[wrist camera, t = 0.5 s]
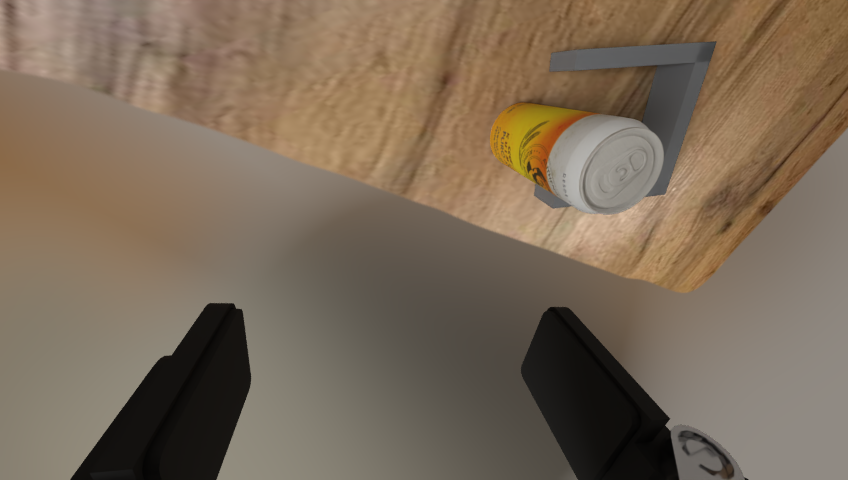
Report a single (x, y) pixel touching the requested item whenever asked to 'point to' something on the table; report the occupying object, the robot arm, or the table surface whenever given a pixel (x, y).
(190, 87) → the table surface
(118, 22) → the table surface
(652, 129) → the corral
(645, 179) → the beer can
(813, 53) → the table surface
